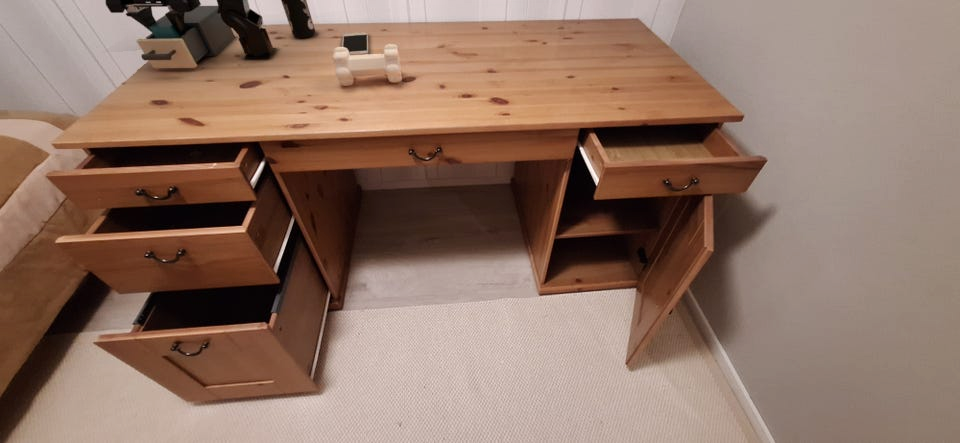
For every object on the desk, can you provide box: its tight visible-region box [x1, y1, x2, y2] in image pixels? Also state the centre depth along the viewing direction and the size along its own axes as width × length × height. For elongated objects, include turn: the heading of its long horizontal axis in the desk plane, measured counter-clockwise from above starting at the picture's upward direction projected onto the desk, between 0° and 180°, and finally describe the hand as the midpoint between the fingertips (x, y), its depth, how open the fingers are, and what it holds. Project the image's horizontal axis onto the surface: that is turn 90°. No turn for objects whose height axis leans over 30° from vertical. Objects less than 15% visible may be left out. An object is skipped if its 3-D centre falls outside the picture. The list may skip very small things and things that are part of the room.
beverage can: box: [280, 0, 316, 39], centre depth 110 cm, size 7×7×12 cm
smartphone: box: [341, 31, 370, 55], centre depth 108 cm, size 7×15×1 cm, turn 12°
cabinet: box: [156, 5, 236, 57], centre depth 105 cm, size 14×12×9 cm
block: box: [149, 20, 187, 39], centre depth 95 cm, size 5×5×5 cm
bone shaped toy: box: [332, 43, 403, 87], centre depth 91 cm, size 15×9×8 cm, turn 99°
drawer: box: [136, 26, 210, 69], centre depth 97 cm, size 17×10×7 cm, turn 3°
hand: (174, 39), depth 96 cm, fingers closed on block, 5 cm apart
